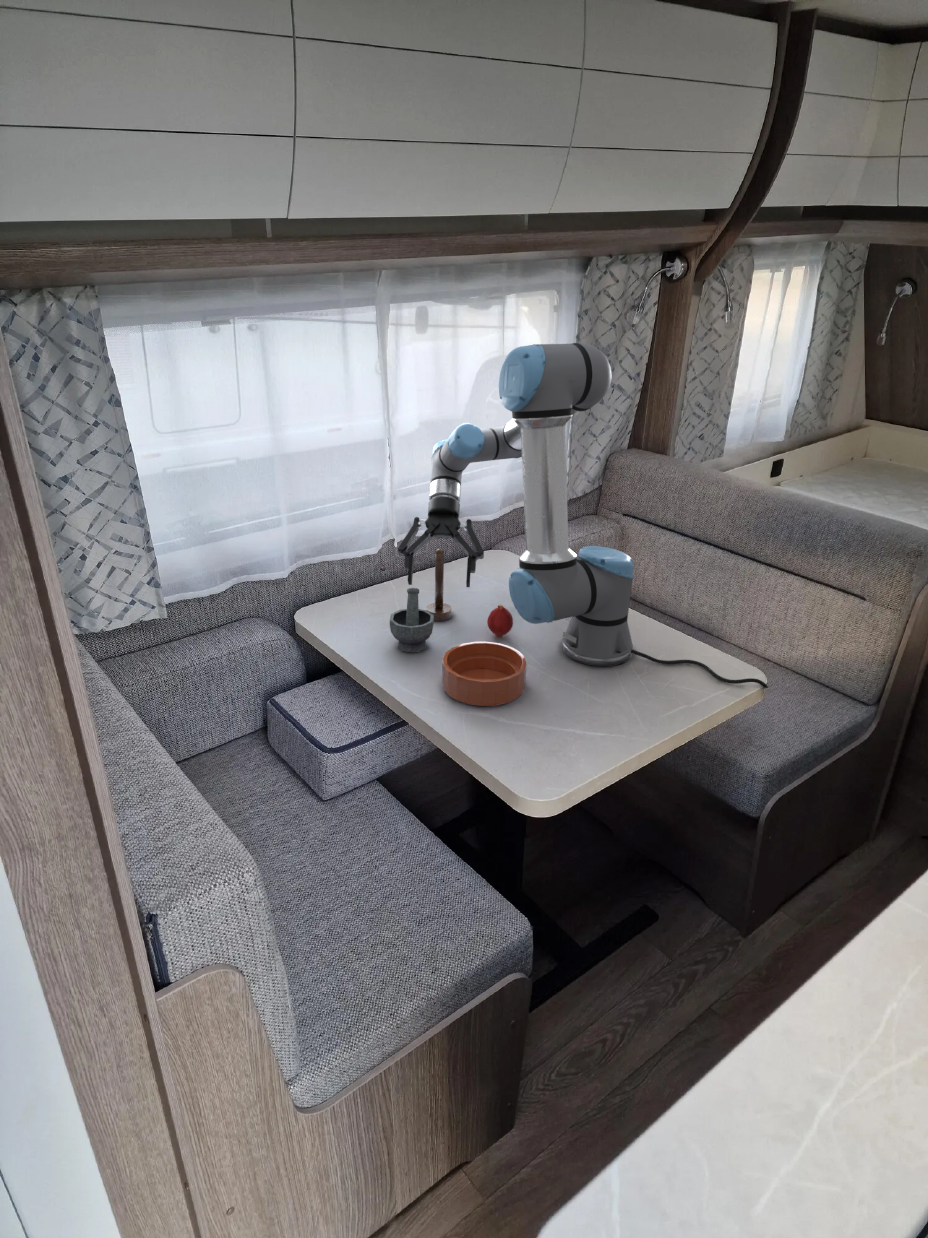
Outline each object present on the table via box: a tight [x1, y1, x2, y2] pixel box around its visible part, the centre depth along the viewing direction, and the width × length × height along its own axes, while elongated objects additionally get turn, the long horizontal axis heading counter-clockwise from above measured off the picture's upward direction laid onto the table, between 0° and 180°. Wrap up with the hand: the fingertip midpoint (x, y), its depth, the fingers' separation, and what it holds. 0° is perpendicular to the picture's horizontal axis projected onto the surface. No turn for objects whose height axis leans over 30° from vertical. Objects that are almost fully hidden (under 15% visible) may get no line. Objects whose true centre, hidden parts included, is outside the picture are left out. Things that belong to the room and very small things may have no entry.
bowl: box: [441, 641, 528, 707], centre depth 163 cm, size 17×17×6 cm
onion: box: [486, 604, 514, 638], centre depth 183 cm, size 6×6×8 cm
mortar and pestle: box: [389, 587, 435, 653], centre depth 178 cm, size 11×9×12 cm
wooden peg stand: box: [425, 547, 453, 622], centre depth 191 cm, size 6×6×17 cm
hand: (438, 584), depth 190 cm, fingers open, 13 cm apart
